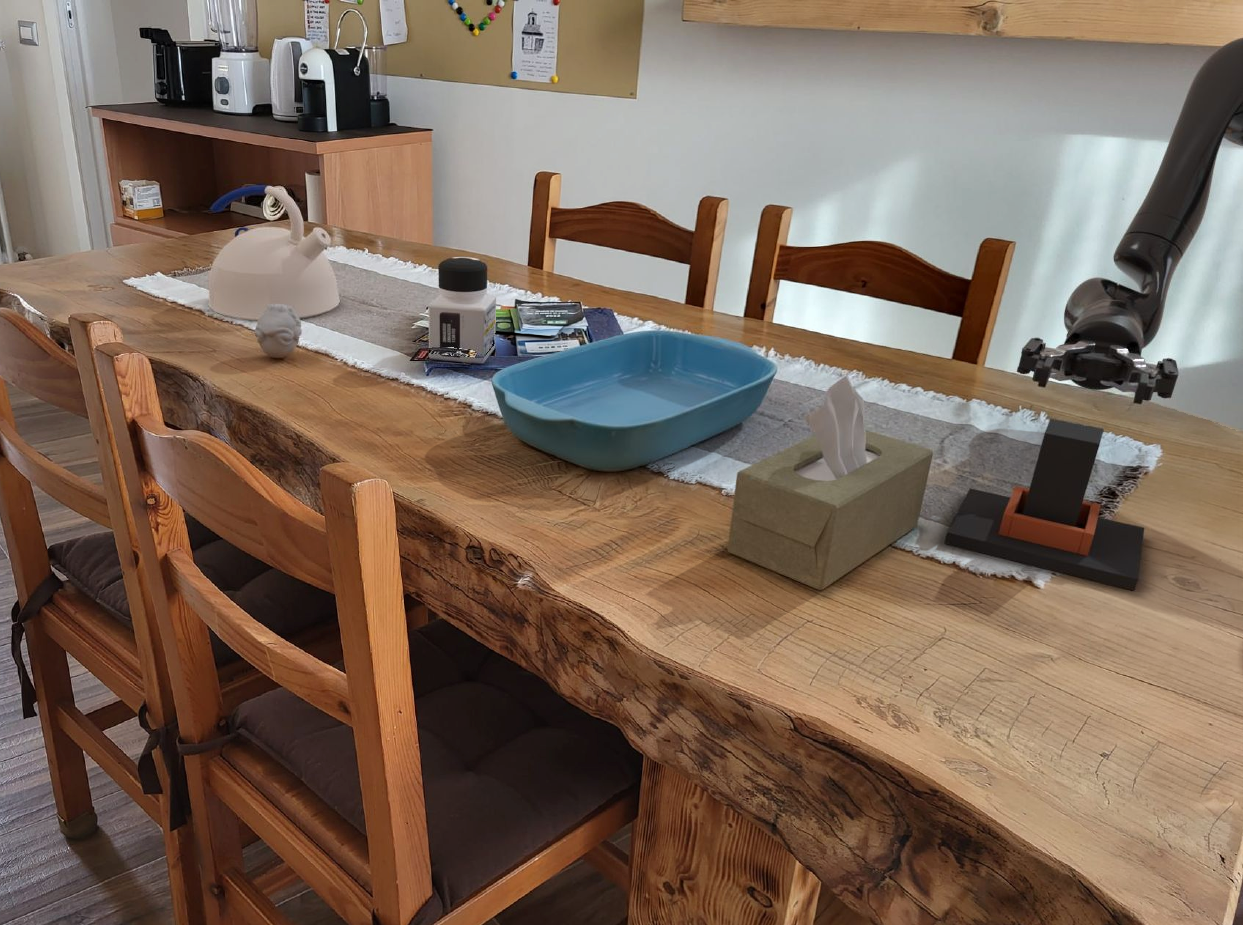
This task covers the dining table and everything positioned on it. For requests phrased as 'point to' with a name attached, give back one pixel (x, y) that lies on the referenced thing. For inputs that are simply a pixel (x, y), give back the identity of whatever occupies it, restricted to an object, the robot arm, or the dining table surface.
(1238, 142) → the robot arm
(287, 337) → the grey rounded lump
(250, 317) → the kettle
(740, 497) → the tissue box
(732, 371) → the casserole dish
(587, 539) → the dining table surface
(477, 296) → the container
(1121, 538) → the base mat
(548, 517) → the dining table surface
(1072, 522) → the black rectangular block
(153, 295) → the dining table surface
